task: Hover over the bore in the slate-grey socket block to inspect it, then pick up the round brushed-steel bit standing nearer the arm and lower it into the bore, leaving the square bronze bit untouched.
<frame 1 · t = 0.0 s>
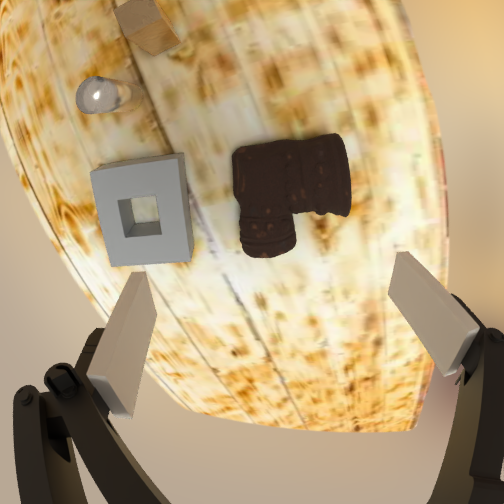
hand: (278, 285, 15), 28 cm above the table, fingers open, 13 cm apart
square bit: (162, 38, 29), on the table
socket block: (148, 205, 40), on the table
pipe: (286, 187, 41), on the table
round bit: (129, 97, 33), on the table
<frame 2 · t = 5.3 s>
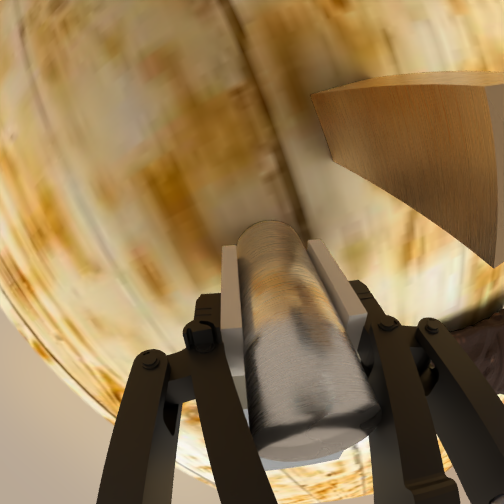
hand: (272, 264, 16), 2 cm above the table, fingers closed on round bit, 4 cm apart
square bit: (353, 118, 14), on the table
socket block: (279, 400, 25), on the table
pipe: (448, 354, 26), on the table
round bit: (269, 251, 18), on the table, touching gripper
when the fingers open (6 cm above the table, at t = 9.4 s): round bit drops 3 cm, resting in socket block.
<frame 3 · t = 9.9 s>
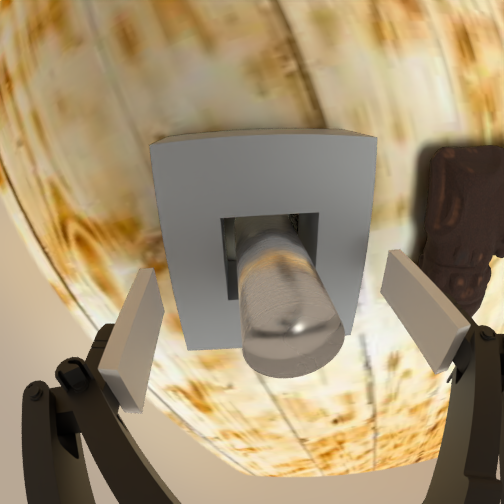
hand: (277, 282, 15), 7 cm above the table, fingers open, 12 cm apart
socket block: (261, 226, 21), on the table
pipe: (465, 212, 23), on the table
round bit: (261, 225, 21), resting in socket block
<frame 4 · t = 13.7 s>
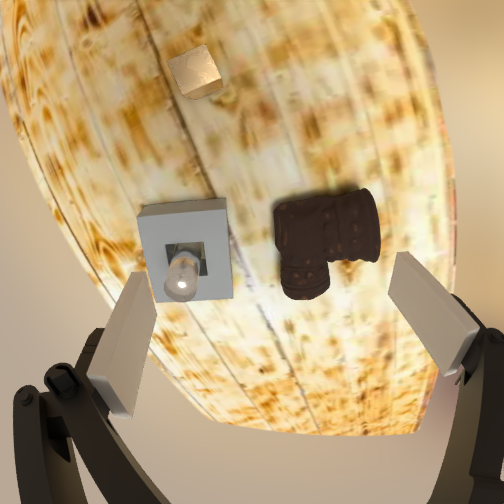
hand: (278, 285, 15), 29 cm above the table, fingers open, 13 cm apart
square bit: (203, 81, 34), on the table
socket block: (190, 244, 45), on the table
pipe: (319, 233, 46), on the table
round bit: (190, 244, 45), resting in socket block
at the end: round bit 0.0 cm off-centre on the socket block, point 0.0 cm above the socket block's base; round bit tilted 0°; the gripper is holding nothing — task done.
